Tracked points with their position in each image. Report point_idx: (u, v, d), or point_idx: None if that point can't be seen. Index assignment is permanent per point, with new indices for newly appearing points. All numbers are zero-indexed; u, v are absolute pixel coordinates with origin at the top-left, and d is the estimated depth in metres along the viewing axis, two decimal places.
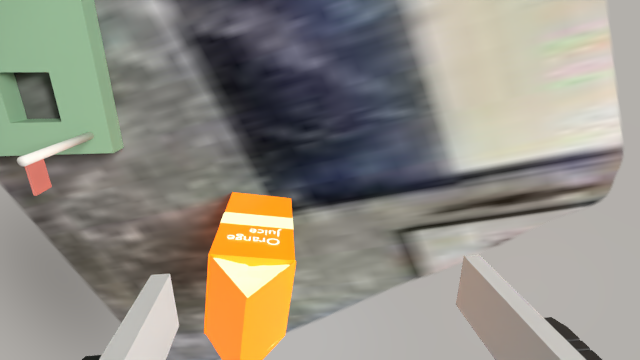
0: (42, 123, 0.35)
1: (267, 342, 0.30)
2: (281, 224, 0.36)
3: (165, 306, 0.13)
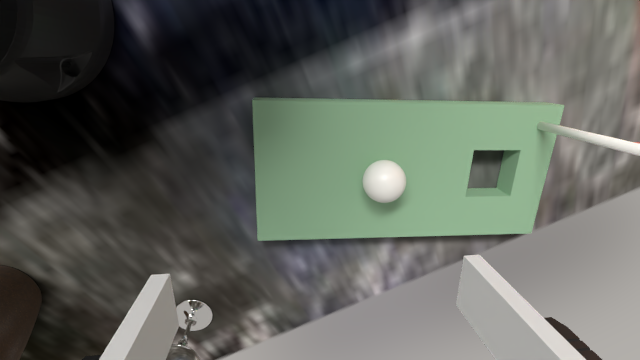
0: (517, 168, 0.35)
1: None
2: None
3: (165, 306, 0.13)
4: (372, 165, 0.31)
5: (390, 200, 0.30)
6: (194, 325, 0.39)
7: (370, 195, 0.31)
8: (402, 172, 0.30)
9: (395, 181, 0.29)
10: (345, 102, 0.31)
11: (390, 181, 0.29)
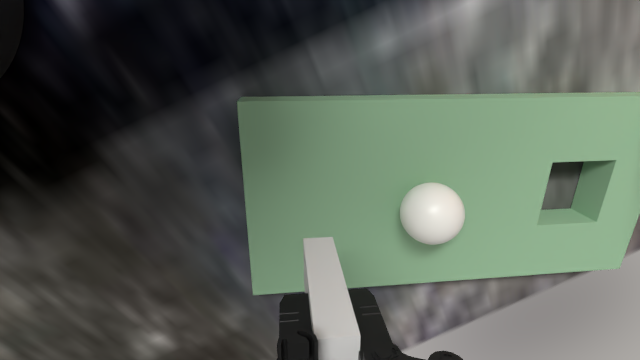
0: (610, 184, 0.25)
1: None
2: None
3: None
4: (415, 190, 0.21)
5: (443, 242, 0.21)
6: None
7: (413, 235, 0.21)
8: (460, 201, 0.21)
9: (452, 216, 0.20)
10: (374, 100, 0.21)
11: (445, 217, 0.20)
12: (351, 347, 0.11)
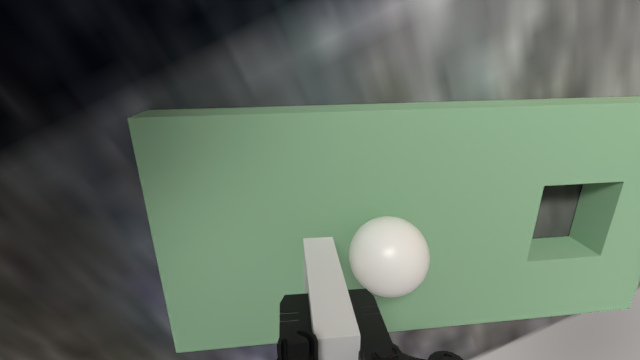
0: (616, 211, 0.20)
1: None
2: None
3: None
4: (365, 228, 0.16)
5: (402, 295, 0.16)
6: None
7: (364, 286, 0.16)
8: (423, 243, 0.16)
9: (411, 265, 0.15)
10: (310, 113, 0.16)
11: (401, 266, 0.15)
12: (351, 347, 0.11)
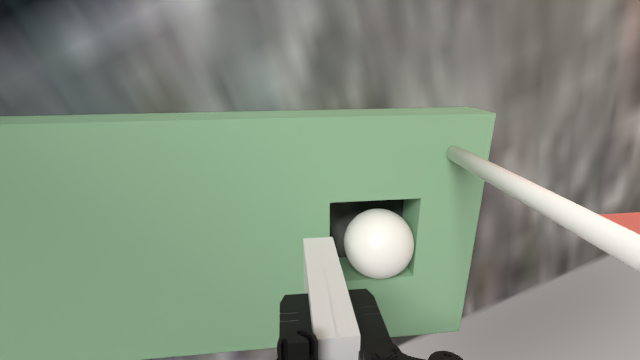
0: (419, 229, 0.19)
1: None
2: None
3: None
4: (363, 225, 0.18)
5: (401, 270, 0.19)
6: None
7: (374, 275, 0.18)
8: (405, 222, 0.19)
9: (410, 241, 0.18)
10: (38, 125, 0.15)
11: (406, 244, 0.18)
12: (351, 347, 0.11)
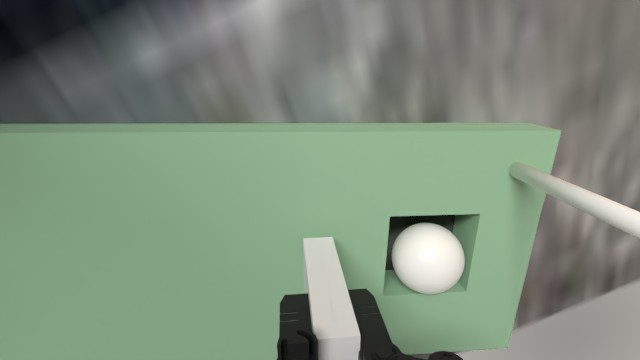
0: (476, 244, 0.19)
1: None
2: None
3: None
4: (412, 238, 0.18)
5: None
6: None
7: (420, 289, 0.18)
8: (457, 239, 0.19)
9: (460, 259, 0.18)
10: (111, 134, 0.15)
11: (456, 262, 0.18)
12: (351, 347, 0.11)
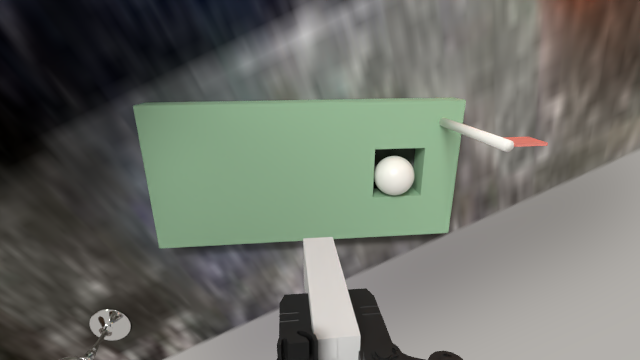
0: (424, 166, 0.33)
1: None
2: None
3: None
4: (383, 161, 0.33)
5: (404, 191, 0.33)
6: (112, 335, 0.39)
7: (386, 190, 0.33)
8: (410, 164, 0.33)
9: (409, 173, 0.32)
10: (231, 104, 0.30)
11: (405, 174, 0.32)
12: (351, 347, 0.11)
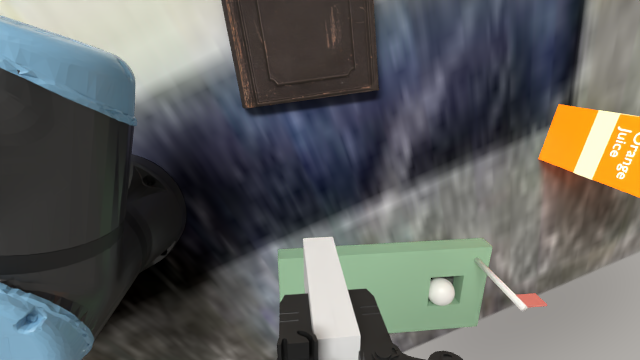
0: (463, 286, 0.49)
1: None
2: (608, 123, 0.37)
3: None
4: (433, 283, 0.49)
5: (447, 304, 0.49)
6: None
7: (435, 303, 0.49)
8: (452, 286, 0.49)
9: (451, 294, 0.48)
10: (340, 255, 0.45)
11: (448, 295, 0.48)
12: (351, 347, 0.11)
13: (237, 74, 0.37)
